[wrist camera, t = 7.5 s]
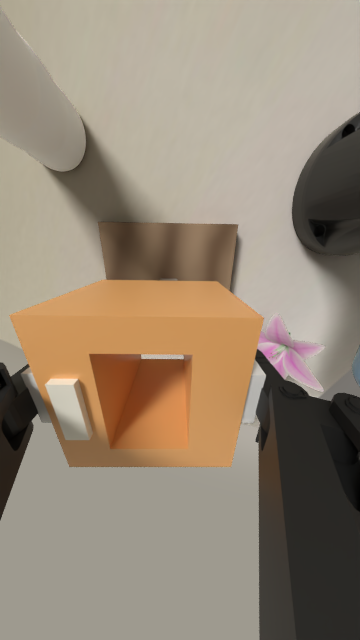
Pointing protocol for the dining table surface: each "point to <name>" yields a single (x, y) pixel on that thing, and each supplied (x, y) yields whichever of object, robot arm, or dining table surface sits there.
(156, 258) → the board
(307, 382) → the lily
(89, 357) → the orange slotted box
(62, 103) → the water bottle
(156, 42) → the dining table surface
